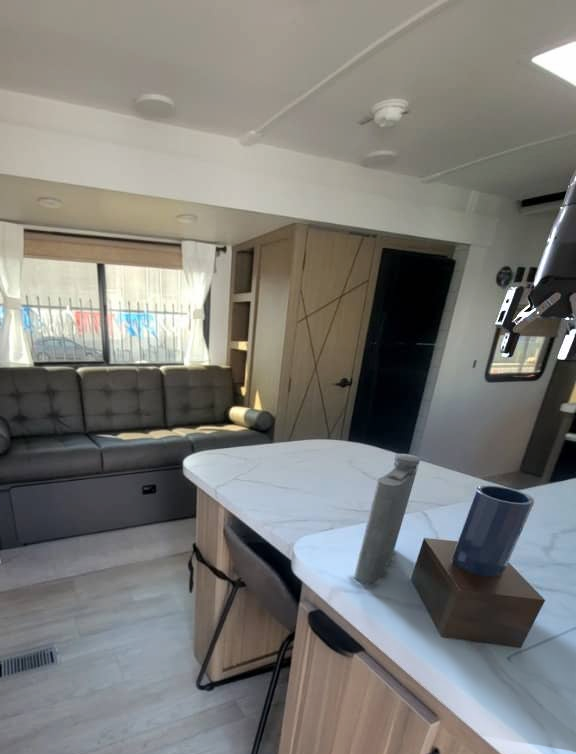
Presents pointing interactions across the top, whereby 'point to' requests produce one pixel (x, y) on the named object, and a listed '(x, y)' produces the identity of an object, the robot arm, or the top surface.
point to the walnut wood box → (474, 598)
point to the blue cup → (491, 530)
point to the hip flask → (386, 518)
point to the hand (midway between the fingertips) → (534, 358)
